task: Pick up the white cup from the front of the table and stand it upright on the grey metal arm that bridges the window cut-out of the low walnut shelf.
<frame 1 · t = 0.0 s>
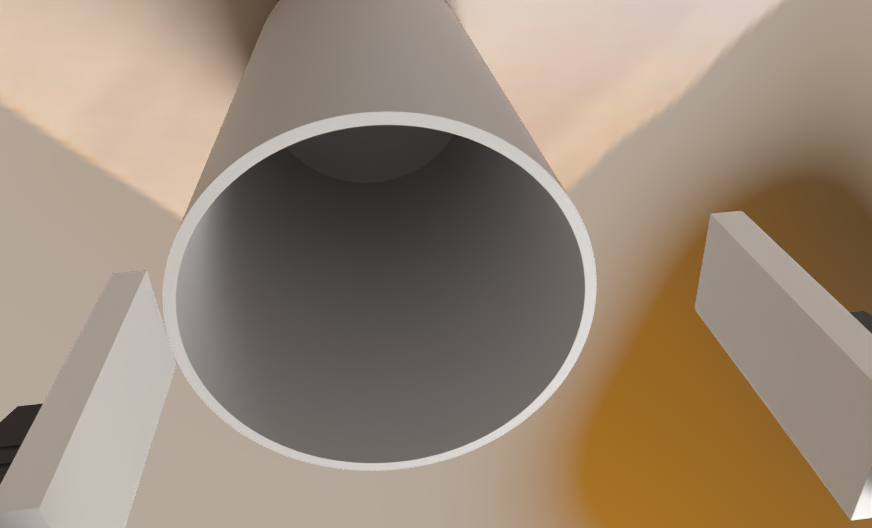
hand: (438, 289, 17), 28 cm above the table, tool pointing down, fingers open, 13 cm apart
cylinder vase: (364, 72, 42), on the table
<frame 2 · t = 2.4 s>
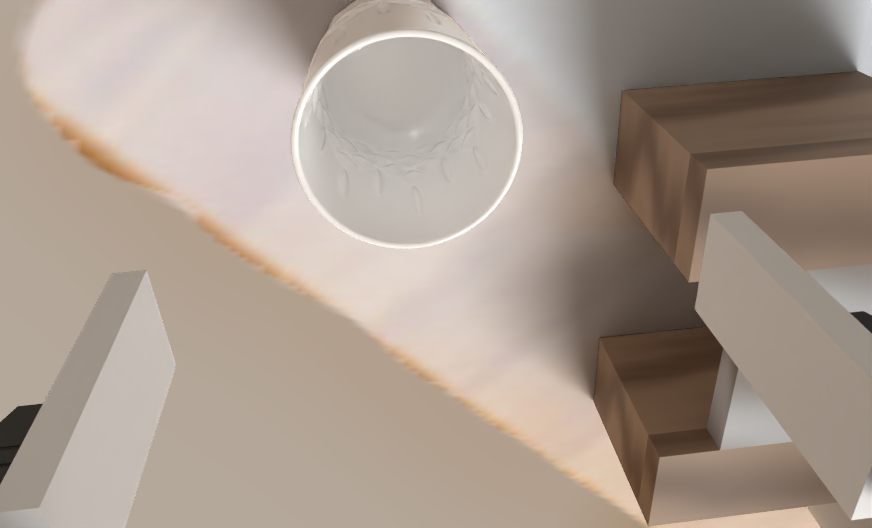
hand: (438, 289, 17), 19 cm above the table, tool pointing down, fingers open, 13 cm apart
white cup: (391, 65, 33), on the table
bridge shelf: (710, 256, 40), on the table
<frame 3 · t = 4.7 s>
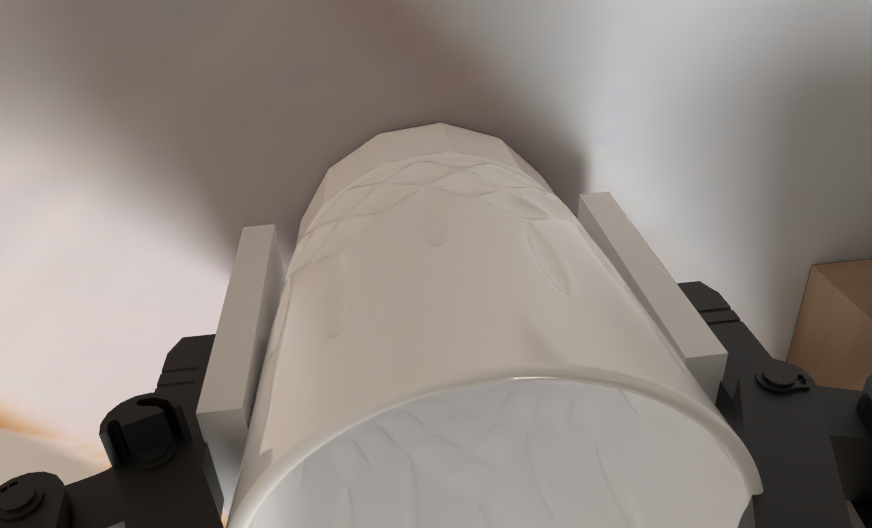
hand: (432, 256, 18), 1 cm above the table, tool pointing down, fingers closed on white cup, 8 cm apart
white cup: (428, 239, 19), on the table, touching gripper
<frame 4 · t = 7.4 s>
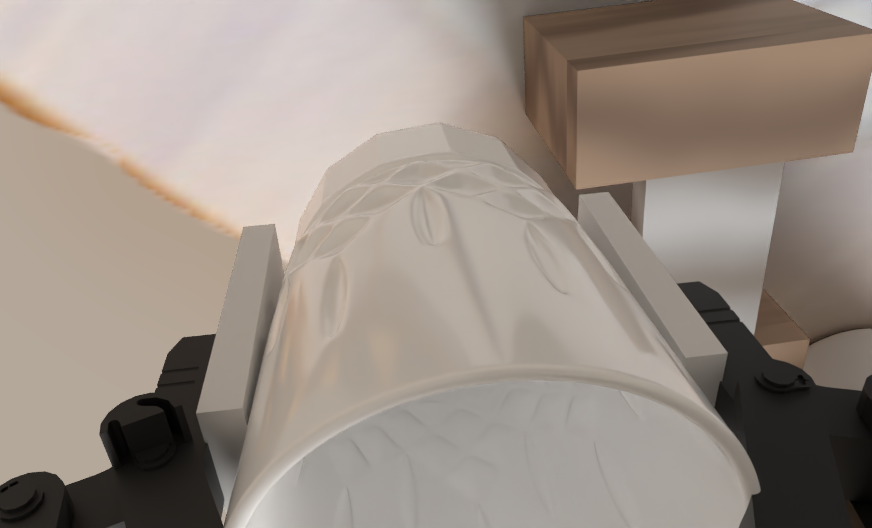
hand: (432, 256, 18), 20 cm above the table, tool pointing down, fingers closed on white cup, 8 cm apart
white cup: (427, 239, 19), point 19 cm above the table, touching gripper
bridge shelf: (631, 184, 41), on the table
cylinder vase: (832, 391, 52), on the table
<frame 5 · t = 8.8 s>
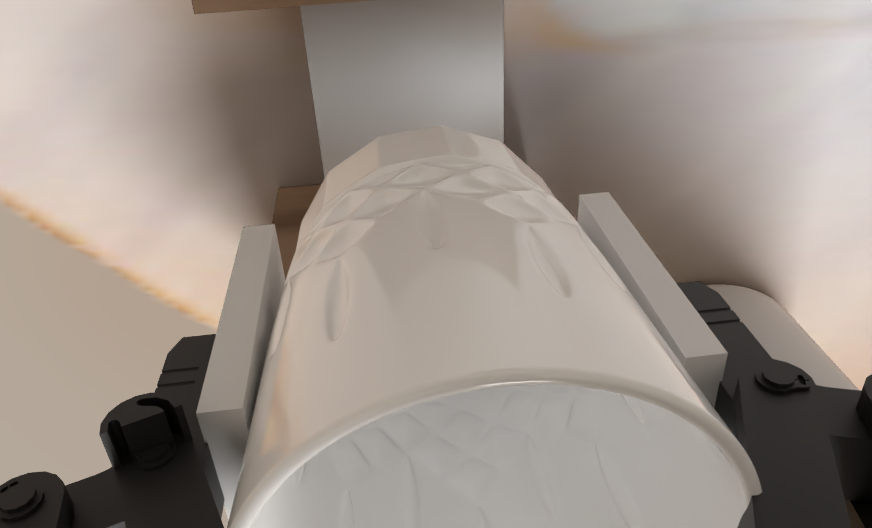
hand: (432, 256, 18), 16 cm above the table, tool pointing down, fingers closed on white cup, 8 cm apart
white cup: (428, 241, 19), point 15 cm above the table, touching gripper
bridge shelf: (396, 73, 32), on the table
cylinder vase: (686, 363, 43), on the table
when the fingers open (12 cm above the table, at t = 10.1 s): white cup drops 1 cm, resting on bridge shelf.
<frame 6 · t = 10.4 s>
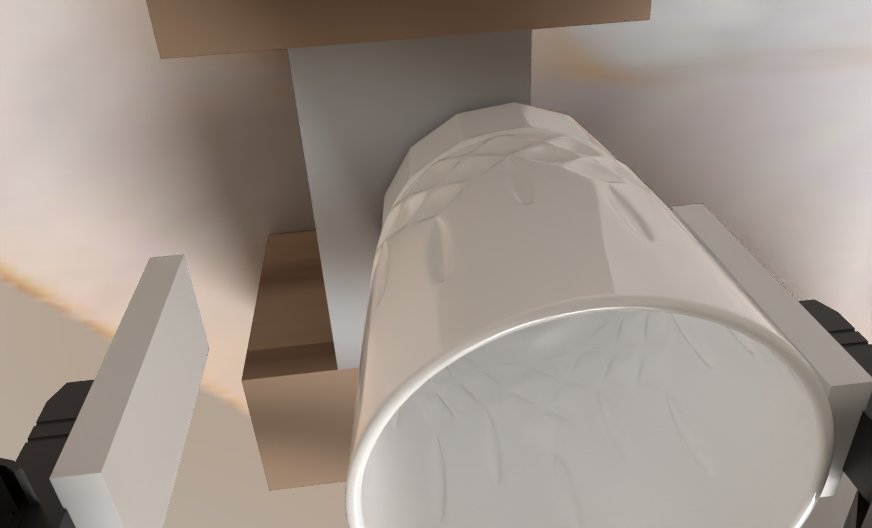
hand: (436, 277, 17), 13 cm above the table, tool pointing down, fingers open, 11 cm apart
white cup: (500, 213, 20), point 9 cm above the table, touching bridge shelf
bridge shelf: (400, 109, 28), on the table
cylinder vase: (715, 415, 39), on the table
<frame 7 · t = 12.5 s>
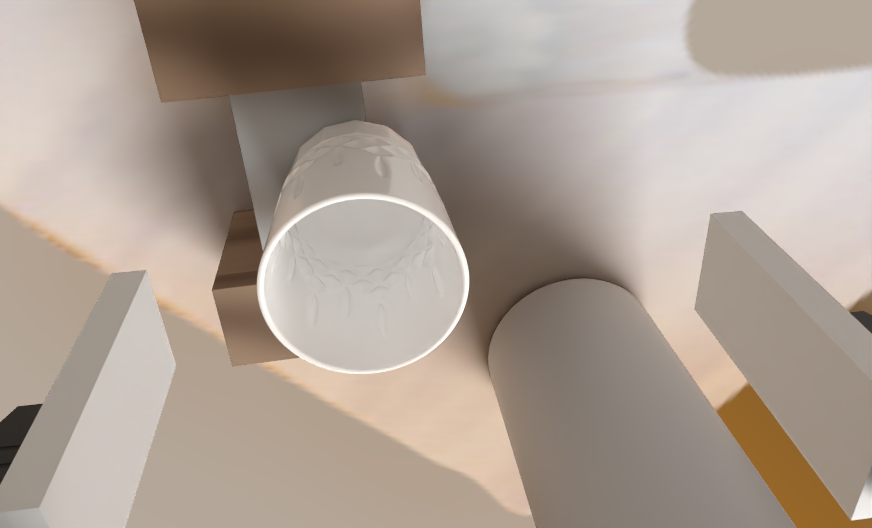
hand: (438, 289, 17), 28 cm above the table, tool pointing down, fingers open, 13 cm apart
white cup: (357, 183, 35), point 9 cm above the table, touching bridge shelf
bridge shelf: (316, 126, 43), on the table
cylinder vase: (566, 343, 54), on the table
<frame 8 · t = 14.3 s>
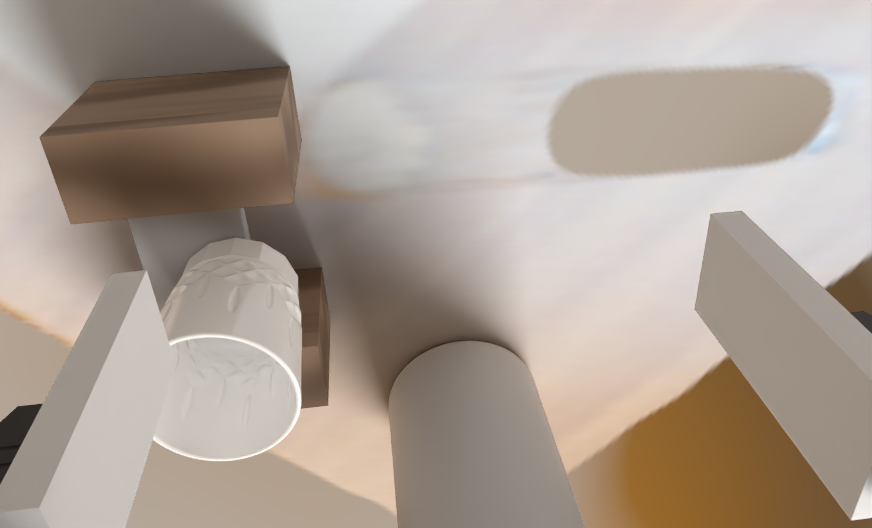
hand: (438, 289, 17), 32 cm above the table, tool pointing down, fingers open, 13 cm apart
white cup: (242, 284, 42), point 9 cm above the table, touching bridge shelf
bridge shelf: (226, 215, 50), on the table
cylinder vase: (460, 393, 61), on the table
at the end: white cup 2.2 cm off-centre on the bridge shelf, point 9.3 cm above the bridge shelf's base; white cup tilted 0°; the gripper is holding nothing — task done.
